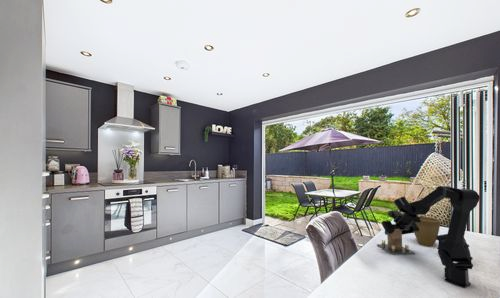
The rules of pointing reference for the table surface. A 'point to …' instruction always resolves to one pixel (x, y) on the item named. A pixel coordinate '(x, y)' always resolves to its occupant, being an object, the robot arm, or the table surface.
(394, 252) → the standoff plate
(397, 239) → the walnut block
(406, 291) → the table surface
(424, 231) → the plant pot
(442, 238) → the black shoulder bracket
